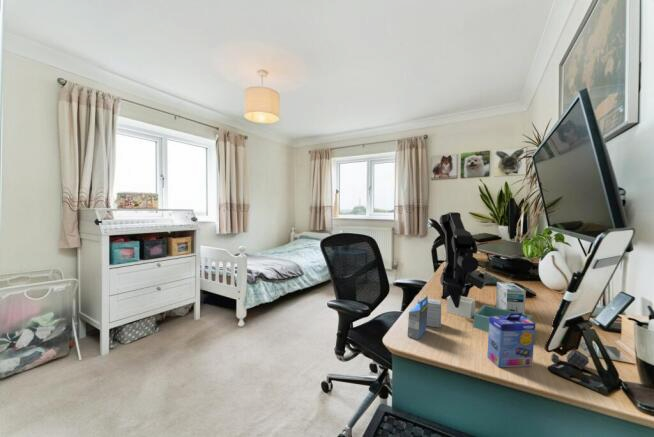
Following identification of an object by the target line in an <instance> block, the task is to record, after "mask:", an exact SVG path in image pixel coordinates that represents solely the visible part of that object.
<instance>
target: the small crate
mask: <svg viewBox="0 0 654 437" xmlns="http://www.w3.org/2000/svg"><path fill="white" fill-rule="evenodd" d="M476 302H477V300H476V298H471V297H463V296H461V299H460V304H459V308H456V307H455V305H454V303H453V301H452V299H451V297H450V296H449V297H447V299H446V309H445V311H446V313H450V314H453V315H457V316H460V317H463V318H464V317H465V318H468V319H472V318H474V314H475V313H476Z"/></svg>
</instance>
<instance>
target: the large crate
mask: <svg viewBox="0 0 654 437" xmlns="http://www.w3.org/2000/svg"><path fill="white" fill-rule="evenodd" d="M510 313H518V312H514V311H510V310H505V309H501V308H497V307H496V306H492V305H487V304H483V305H482V306H481V307H480V308H479V309H478V310H477V311H475V314H474V316H473V328H475V329H477V330H478V329H479V330H481V331H485V332H488V333H489V316H501V315H503V316H508V315H509V314H510ZM522 316H523V317H525V318H527V319H529V320H530V321H532V320H533V319H532V318H533V316H532V315H531V314H526V313H525V314H522ZM532 322H533V321H532Z"/></svg>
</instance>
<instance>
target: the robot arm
mask: <svg viewBox="0 0 654 437" xmlns="http://www.w3.org/2000/svg"><path fill="white" fill-rule="evenodd" d="M439 224H440V227H441V230H442V232H443V233H444V237H445V238H444V240H445V266H444V267H443V268H442V272H441V274H440V278H439V280H440V281H439V282H440V285H441V286H442V295H441V296H440V298H441V299H444V300H447V297H449V296H450V297H451V299H452V301H453V303H454V305H455V307H456V308H459V304H460V299H461V296H463V297H467V298H469V293H470V290H471V289H472V288H474V287H476V288H477V289H479V290H483V288H484V287H485V285H486V283H487V281H488V279H487V278H486V274H485V273H483V272H480V273H479V274H478V273H474V272H475V271H477V269H478V268H479V264H480V263H479V260H478V259H477V258H476V257H475V256H474V254H477V253H478V246H477V242H476V239H475V238H474V236H473V235H472V233H471V232H470V231H468V230H467V229H466V228H465V225H464V223H463V221H462V215H461V213H460V212H454V211H452V212H451V211H450V212H447V213H445V214H442V215H440V217H439Z"/></svg>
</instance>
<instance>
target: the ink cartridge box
mask: <svg viewBox="0 0 654 437" xmlns="http://www.w3.org/2000/svg"><path fill="white" fill-rule="evenodd" d="M522 314H523V313H510V314H509V315H508V316H503V315H501V316H489V332H488V340H487V358H488V359H490V360H491V362H493V363H494V364H495V365H496V366H497V367H498V368H517V367H518V368H519V367H522V368H525V367H528V368H529V367H532V366H533V360H534V359H533V357H534V346H535V335H536V323H535V322H533V321H530V320H529V319H527V318H525V317H523V316H522Z"/></svg>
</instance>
